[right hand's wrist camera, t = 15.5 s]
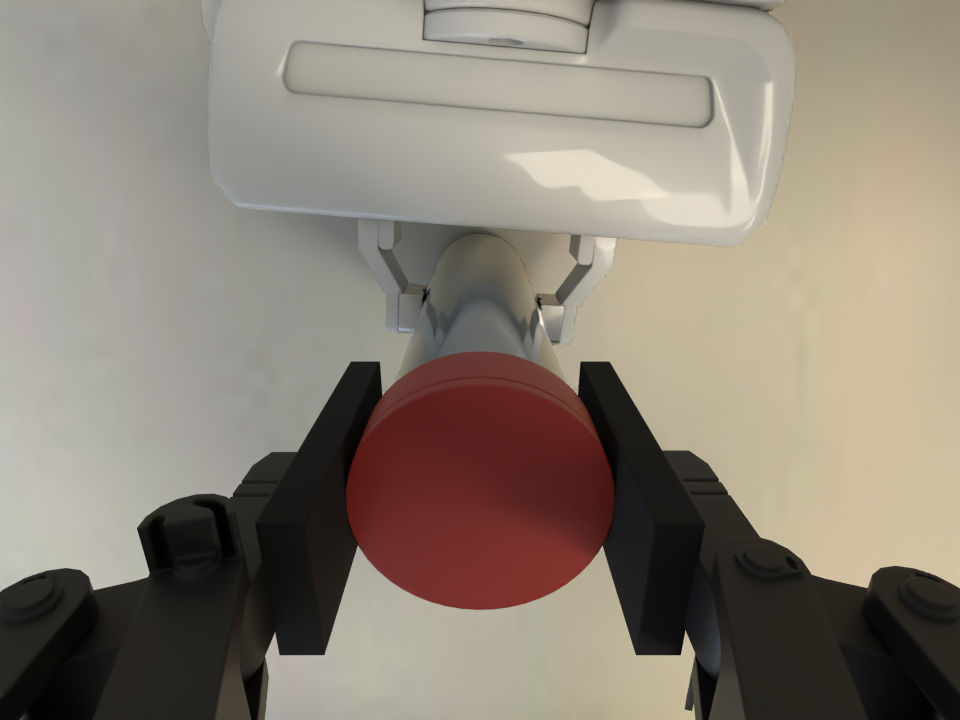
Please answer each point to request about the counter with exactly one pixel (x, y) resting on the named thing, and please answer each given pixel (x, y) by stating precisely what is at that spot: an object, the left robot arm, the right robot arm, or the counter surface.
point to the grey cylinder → (480, 307)
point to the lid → (480, 483)
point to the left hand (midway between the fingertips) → (479, 335)
